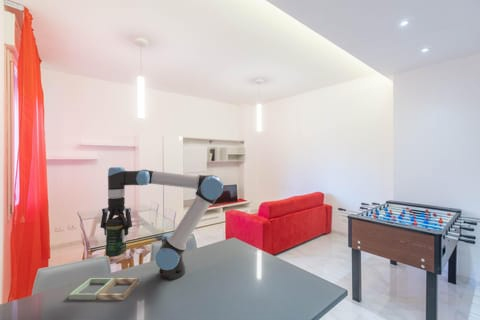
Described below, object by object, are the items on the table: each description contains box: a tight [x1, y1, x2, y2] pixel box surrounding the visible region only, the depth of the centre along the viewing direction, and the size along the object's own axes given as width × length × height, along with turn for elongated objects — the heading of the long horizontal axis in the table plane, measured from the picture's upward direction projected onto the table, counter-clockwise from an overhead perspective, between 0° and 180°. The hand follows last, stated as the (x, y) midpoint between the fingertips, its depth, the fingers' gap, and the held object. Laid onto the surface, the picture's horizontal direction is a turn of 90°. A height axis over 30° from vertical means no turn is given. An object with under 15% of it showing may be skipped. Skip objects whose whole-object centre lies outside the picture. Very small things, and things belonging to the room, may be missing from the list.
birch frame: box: [96, 277, 140, 301], centre depth 115 cm, size 13×15×2 cm
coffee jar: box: [105, 216, 127, 258], centre depth 115 cm, size 10×8×19 cm
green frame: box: [68, 277, 115, 301], centre depth 116 cm, size 13×15×2 cm
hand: (116, 241), depth 115 cm, fingers closed on coffee jar, 8 cm apart
